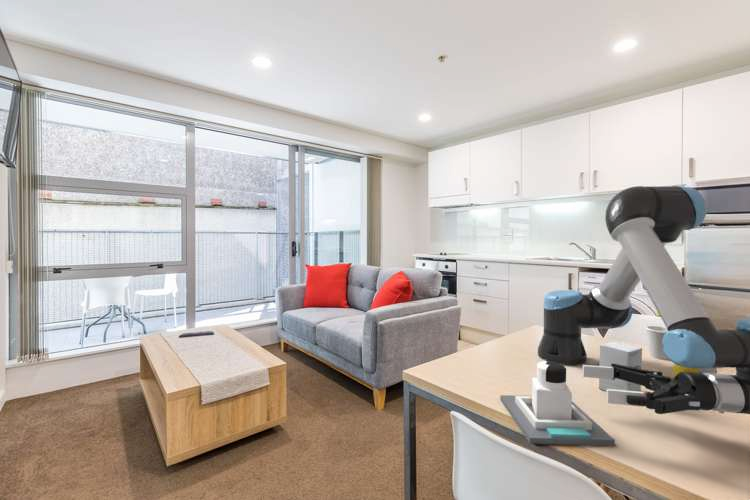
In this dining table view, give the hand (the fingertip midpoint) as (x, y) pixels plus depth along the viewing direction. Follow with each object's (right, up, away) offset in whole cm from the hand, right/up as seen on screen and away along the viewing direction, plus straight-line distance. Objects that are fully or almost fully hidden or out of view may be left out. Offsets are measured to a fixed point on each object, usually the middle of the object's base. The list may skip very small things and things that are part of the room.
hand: (593, 382), depth 78 cm
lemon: (+39, -9, +20) cm, 45 cm away
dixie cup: (+51, -8, +44) cm, 68 cm away
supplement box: (+18, -9, +17) cm, 27 cm away
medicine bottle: (-9, -9, +2) cm, 12 cm away
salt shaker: (+51, -9, +27) cm, 58 cm away
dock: (-9, -10, +2) cm, 13 cm away
